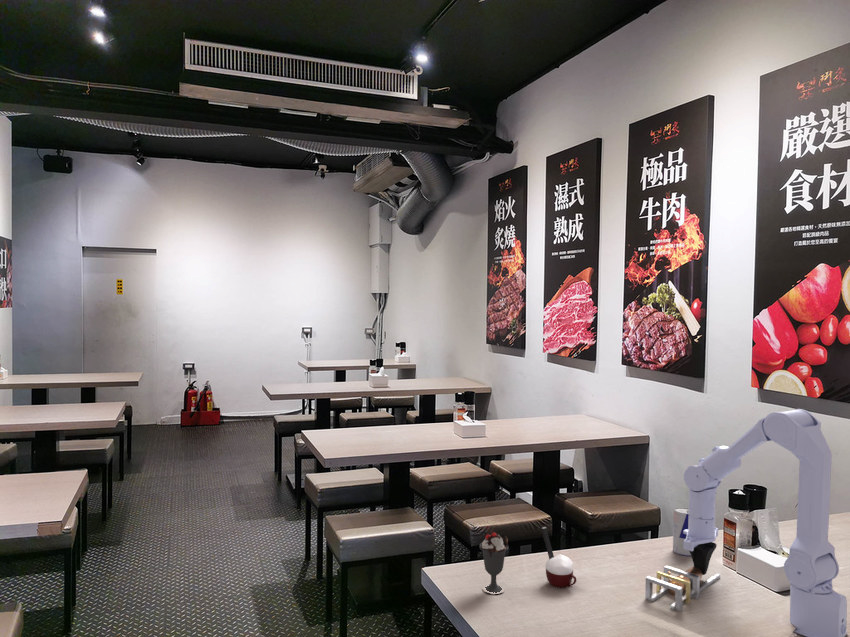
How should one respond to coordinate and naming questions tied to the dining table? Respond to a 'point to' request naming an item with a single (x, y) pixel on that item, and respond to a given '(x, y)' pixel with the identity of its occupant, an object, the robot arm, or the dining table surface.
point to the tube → (692, 570)
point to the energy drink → (680, 530)
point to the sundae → (494, 557)
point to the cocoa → (558, 566)
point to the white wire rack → (678, 590)
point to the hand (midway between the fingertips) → (700, 573)
